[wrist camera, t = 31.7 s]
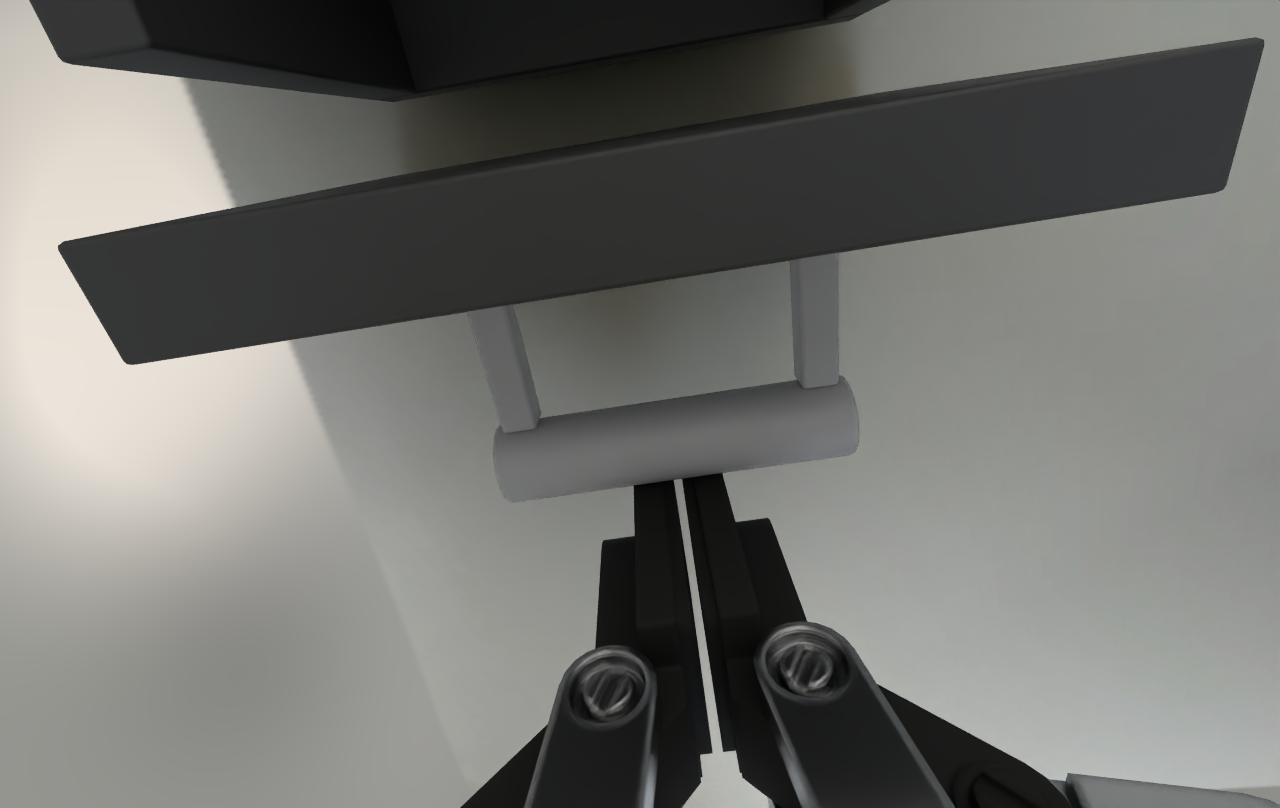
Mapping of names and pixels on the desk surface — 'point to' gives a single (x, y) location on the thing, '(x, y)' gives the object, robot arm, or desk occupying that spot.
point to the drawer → (618, 199)
